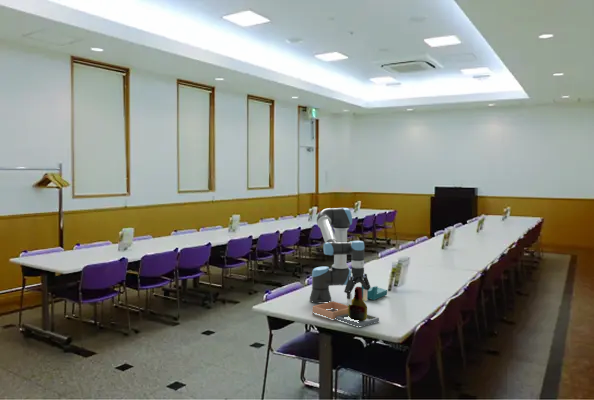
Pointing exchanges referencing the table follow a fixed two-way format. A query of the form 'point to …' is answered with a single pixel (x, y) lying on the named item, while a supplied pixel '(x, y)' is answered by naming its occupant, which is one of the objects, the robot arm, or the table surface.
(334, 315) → the holder
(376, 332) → the table surface
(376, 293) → the teal l-shaped bracket
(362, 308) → the bottle
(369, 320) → the tray
